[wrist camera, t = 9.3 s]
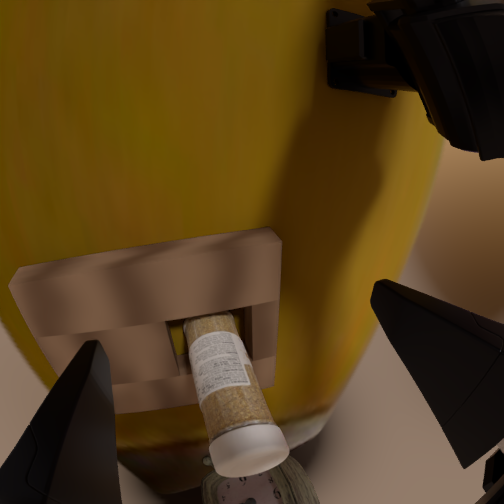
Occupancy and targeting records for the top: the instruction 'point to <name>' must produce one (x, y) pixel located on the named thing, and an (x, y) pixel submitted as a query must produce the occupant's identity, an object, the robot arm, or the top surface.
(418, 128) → the top surface
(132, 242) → the top surface
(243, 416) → the sprinkles bottle
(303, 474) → the tabletop clock
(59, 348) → the wooden board
